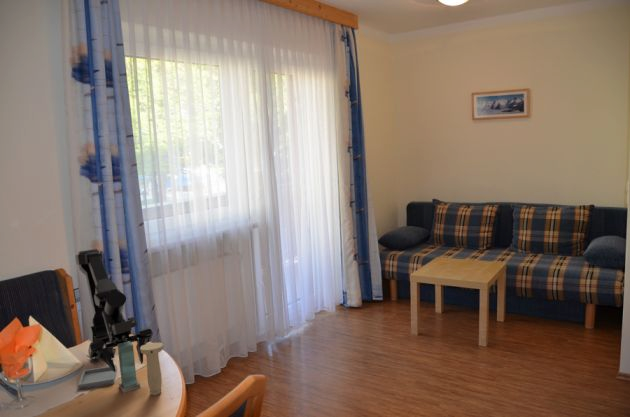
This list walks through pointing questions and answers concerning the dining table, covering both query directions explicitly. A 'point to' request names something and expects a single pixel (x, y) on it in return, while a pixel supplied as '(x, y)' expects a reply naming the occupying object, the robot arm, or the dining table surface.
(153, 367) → the handle
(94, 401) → the dining table surface
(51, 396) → the dining table surface
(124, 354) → the teal green tall block
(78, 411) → the dining table surface
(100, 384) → the tray
